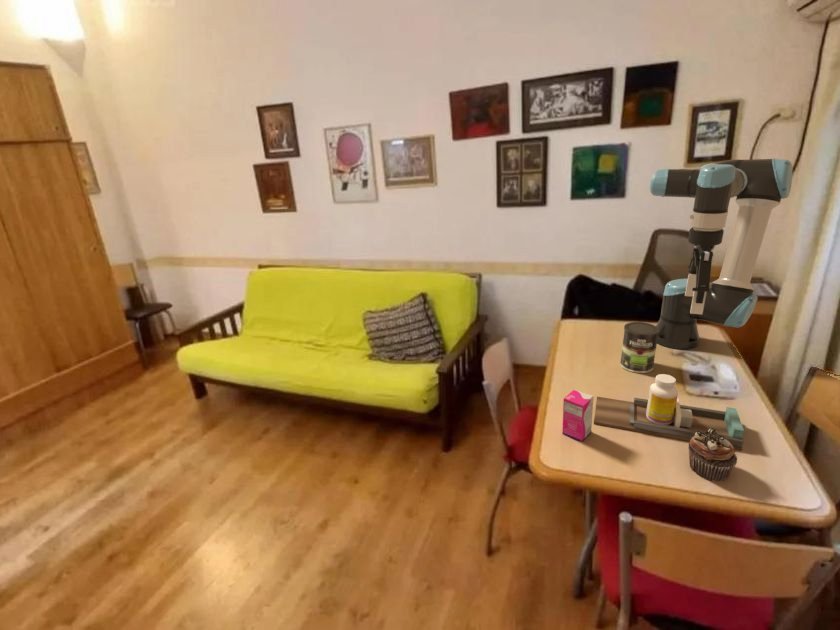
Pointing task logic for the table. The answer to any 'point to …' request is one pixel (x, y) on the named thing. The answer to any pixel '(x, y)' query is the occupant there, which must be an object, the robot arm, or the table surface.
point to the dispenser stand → (636, 420)
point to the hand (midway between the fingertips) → (693, 304)
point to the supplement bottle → (662, 400)
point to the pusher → (682, 416)
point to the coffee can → (639, 347)
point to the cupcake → (711, 455)
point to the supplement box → (577, 415)
